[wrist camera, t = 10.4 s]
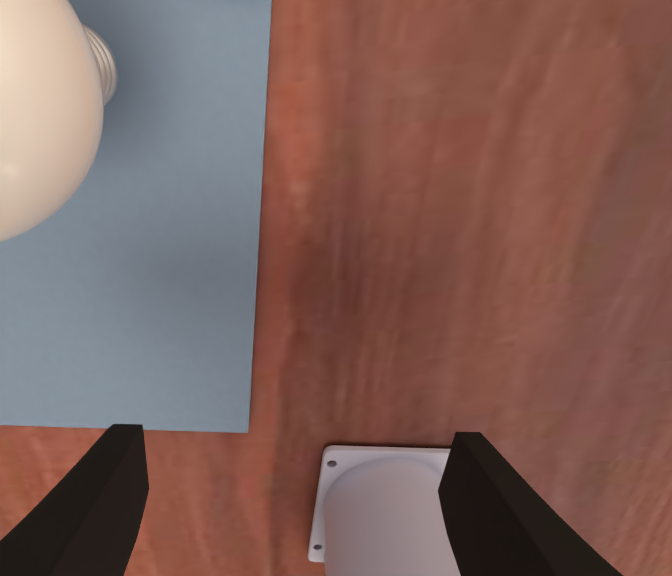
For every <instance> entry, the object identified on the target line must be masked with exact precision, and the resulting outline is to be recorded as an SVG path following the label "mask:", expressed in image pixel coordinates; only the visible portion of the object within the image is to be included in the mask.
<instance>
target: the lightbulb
mask: <svg viewBox="0 0 672 576" xmlns="http://www.w3.org/2000/svg"><path fill="white" fill-rule="evenodd" d="M117 84H118V68H117V64H116V60H115V57H114V55H113V53H112V51H111V49H110V47H109V46H108V44H107V43H106V42H105V40H104V39H103V38H102V37H101V36H100V35H99V34H98V33H97V32H96V31H94V30H93V29H92V28H90V27H89V26H87V25H85V24H83V23H81V21H80V19H79V18H78V16H77V14H76V12H75V11H74V9H73V7H72V6H71V4H70V2H69V1H68V0H0V243H1V242H4V241H7V240H9V239H12V238H14V237H17V236H19V235H21V234H23V233H25V232H27V231H29V230H31V229H32V228H34V227H36V226H38V225H39V224H41V223H42V222H44V221H45V220H47V219H48V218H49V217H51V216H52V215H53V214H54V213H56V212H57V211H58V210H59V209H60V208H61V207H62V206H63V205H64V204H65V203H66V202H67V201H68V200H69V199H70V198H71V197H72V196H73V195H74V193H75V192H76V191H77V190H78V188H79V187H80V186H81V184H82V183H83V181H84V180H85V178H86V176H87V174H88V173H89V171H90V169H91V167H92V164H93V162H94V160H95V157H96V154H97V151H98V148H99V144H100V140H101V136H102V130H103V120H104V105H106V104H107V103H108V102H109V101H110V100H111V98H112V97H113V95H114V93H115V91H116V88H117Z"/></svg>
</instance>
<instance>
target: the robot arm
mask: <svg viewBox="0 0 672 576" xmlns="http://www.w3.org/2000/svg"><path fill="white" fill-rule="evenodd" d="M329 461H333V462H329ZM148 491H149V483H148V473H147V463H146V453H145V443H144V433H143V424H113V425H111V426H110V427H109V428H108V429H107V430H106V431H105V432H104V433H103V435H102V436H101V437H100V438H99V439H98V440H97V441H96V443H95V444H94V445H93V446H92V447H91V448H90V449H89V450H88V452H87V453H86V454H85V455H84V456H83V457H82V458H81V459H80V460H79V462H78V463H77V464H76V465H75V466H74V467H73V468H72V469H71V470H70V471H69V472H68V473H67V475H66V476H65V477H64V478H63V479H62V480H61V481H60V482H59V483H58V484H57V485H56V486H55V487H54V488H53V489H52V490H51V491H50V492H49V493H48V494H47V495H46V496H45V497H44V499H43V500H42V501H41V502H40V503H39V504H38V505H37V506H36V507H35V508H34V509H33V510H32V511H31V512H30V513H29V514H28V515H27V516H26V517H25V518H24V519H23V520H22V521H21V522H20V523H19V524H17V525H16V526H15V527H14V528H13V529H12V530H11V531H10V532H9V533H8V534H7V535H6V536H5V537H4V538H3V539H2V540H1V541H0V576H123V575H124V572H125V570H126V567H127V564H128V561H129V558H130V556H131V553H132V550H133V547H134V545H135V542H136V539H137V536H138V532H139V528H140V524H141V520H142V516H143V512H144V508H145V504H146V500H147V496H148ZM308 559H309V560H310V561H312V562H324V565H325V576H623V575H622V574H620V573H619V572H618V571H617V570H616V569H615V568H614V567H612V566H611V565H610V564H609V563H608V562H607V561H606V560H605V559H603V558H602V557H601V556H600V555H599V554H598V553H597V552H596V551H595V550H594V549H593V548H592V547H591V546H590V545H588V544H587V543H586V542H585V541H584V540H583V539H582V538H581V537H580V536H579V535H578V534H577V533H576V532H575V531H574V530H573V529H572V528H571V527H570V526H569V525H568V524H567V523H566V522H565V521H564V520H563V519H562V518H561V517H559V516H558V515H557V514H556V513H555V511H554V510H553V509H552V508H551V507H550V506H549V505H548V504H547V503H546V502H545V501H544V500H543V499H542V498H541V497H540V496H539V495H538V494H537V493H536V492H535V491H534V490H533V489H532V488H531V487H530V485H529V484H528V483H527V482H526V481H525V480H524V479H523V478H522V477H521V476H520V475H519V474H518V473H517V472H516V470H515V469H514V468H513V467H512V466H511V465H510V464H509V463H508V462H507V461H506V460H505V458H504V457H503V456H502V455H501V454H500V453H499V452H498V451H497V450H496V449H495V448H494V446H493V445H492V444H491V443H490V442H489V441H488V440H487V439H486V438H485V437H484V436H483V435H482V434H481V433H480V432H456V433H455V436H454V440H453V443H452V446H451V449H438V448H404V447H370V446H337V445H333V446H328V447H326V448H325V449H324V451H323V456H322V463H321V469H320V476H319V482H318V489H317V495H316V502H315V508H314V515H313V521H312V528H311V534H310V541H309V547H308Z"/></svg>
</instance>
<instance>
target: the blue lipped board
mask: <svg viewBox="0 0 672 576" xmlns="http://www.w3.org/2000/svg"><path fill="white" fill-rule="evenodd" d="M68 1H69V2H70V4H71V6H72V7H73V9H74V11H75V12H76V14H77V16H78V18H79V19H80V21H81V23H83V24H85V25H87V26H89V27H90V28H92V29H93V30H94V31H96V32H97V33H98V34H99V35H100V36H101V37H102V38H103V39H104V40H105V42H106V43H107V44H108V46H109V47H110V49H111V51H112V53H113V55H114V57H115V60H116V64H117V68H118V84H117V88H116V91H115V93H114V95H113V97H112V98H111V100H110V101H109V102H108V103H107V104H106V105H104V120H103V130H102V136H101V140H100V144H99V148H98V151H97V154H96V157H95V160H94V162H93V164H92V167H91V169H90V171H89V173H88V174H87V176H86V178H85V180H84V181H83V183H82V184H81V186H80V187H79V188H78V190H77V191H76V192H75V193H74V195H73V196H72V197H71V198H70V199H69V200H68V201H67V202H66V203H65V204H64V205H63V206H62V207H61V208H60V209H59V210H58V211H57V212H56V213H54V214H53V215H52V216H51V217H49V218H48V219H47V220H45V221H44V222H42V223H41V224H39V225H38V226H36V227H34V228H32V229H31V230H29V231H27V232H25V233H23V234H21V235H19V236H17V237H14V238H12V239H9V240H7V241H4V242H1V243H0V425H18V426H48V427H79V428H109V427H110V426H111V425H113V424H143V430H172V431H203V432H234V433H248V429H249V416H250V398H251V379H252V361H253V342H254V324H255V305H256V287H257V268H258V250H259V231H260V213H261V194H262V176H263V157H264V139H265V120H266V102H267V83H268V65H269V46H270V28H271V9H272V0H68Z"/></svg>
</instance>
